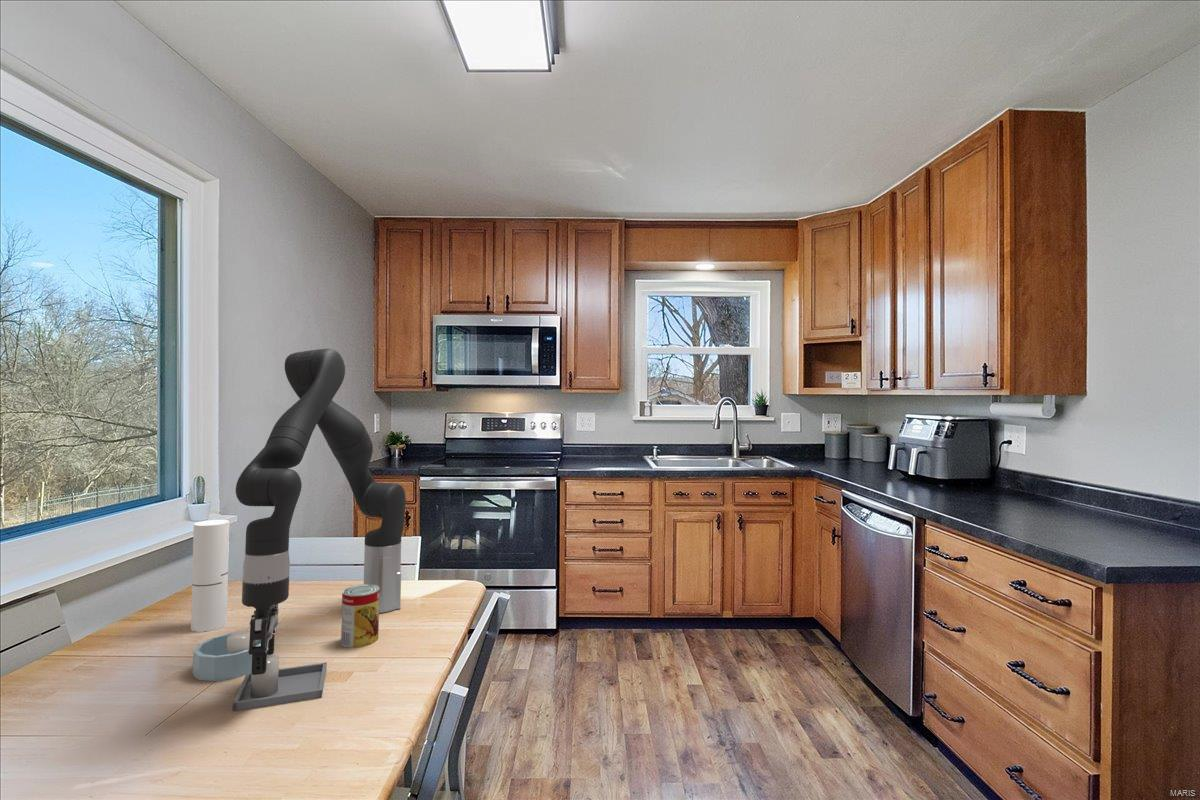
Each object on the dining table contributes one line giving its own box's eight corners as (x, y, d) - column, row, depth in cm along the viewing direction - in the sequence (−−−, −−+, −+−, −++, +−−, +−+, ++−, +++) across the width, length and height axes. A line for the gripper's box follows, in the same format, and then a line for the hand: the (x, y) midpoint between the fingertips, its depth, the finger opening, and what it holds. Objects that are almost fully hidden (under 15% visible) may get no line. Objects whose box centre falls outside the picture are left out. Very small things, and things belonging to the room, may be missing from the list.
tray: (326, 671, 115) (326, 662, 115) (321, 699, 104) (321, 690, 104) (246, 682, 110) (246, 673, 110) (232, 714, 99) (232, 703, 99)
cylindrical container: (233, 621, 140) (236, 520, 140) (211, 632, 133) (214, 526, 133) (207, 619, 141) (209, 519, 141) (183, 631, 134) (186, 525, 134)
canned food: (385, 639, 131) (387, 587, 131) (358, 652, 124) (359, 597, 124) (361, 633, 134) (362, 582, 135) (333, 645, 127) (334, 591, 128)
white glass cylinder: (253, 659, 118) (254, 630, 118) (249, 668, 114) (250, 638, 114) (229, 662, 116) (229, 633, 116) (223, 671, 112) (224, 641, 112)
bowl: (272, 651, 124) (272, 628, 124) (261, 676, 112) (262, 651, 112) (203, 659, 119) (204, 635, 119) (185, 687, 107) (186, 661, 108)
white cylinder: (279, 684, 108) (280, 653, 108) (276, 696, 104) (276, 663, 104) (253, 688, 106) (253, 656, 106) (248, 700, 102) (249, 666, 102)
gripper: (283, 584, 100) (280, 677, 100) (294, 564, 113) (291, 646, 113) (234, 589, 97) (230, 684, 97) (250, 567, 111) (247, 651, 110)
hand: (263, 663), depth 105 cm, fingers open, 8 cm apart
